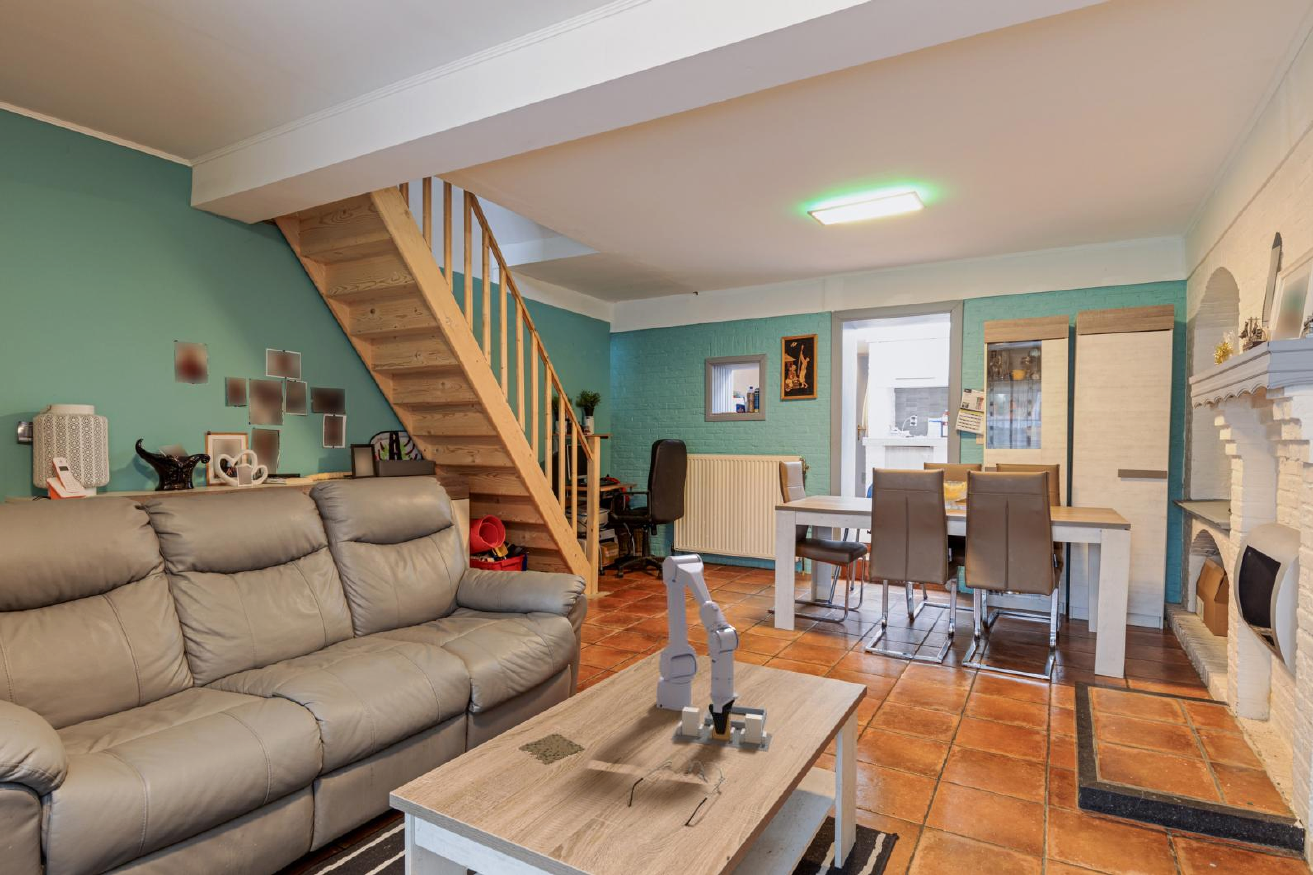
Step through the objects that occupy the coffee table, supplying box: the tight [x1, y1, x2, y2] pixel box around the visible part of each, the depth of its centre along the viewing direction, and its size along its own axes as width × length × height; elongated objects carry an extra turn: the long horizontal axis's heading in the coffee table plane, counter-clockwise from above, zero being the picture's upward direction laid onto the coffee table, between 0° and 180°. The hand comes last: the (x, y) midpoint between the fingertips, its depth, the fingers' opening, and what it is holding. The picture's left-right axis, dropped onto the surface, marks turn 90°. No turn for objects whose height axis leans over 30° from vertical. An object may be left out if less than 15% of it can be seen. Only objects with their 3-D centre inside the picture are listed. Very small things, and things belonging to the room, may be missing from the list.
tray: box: [704, 702, 767, 732], centre depth 185 cm, size 15×10×3 cm
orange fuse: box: [713, 712, 732, 740], centre depth 174 cm, size 4×3×6 cm, turn 76°
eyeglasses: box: [629, 753, 726, 826], centre depth 149 cm, size 16×19×5 cm
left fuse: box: [681, 706, 701, 736], centre depth 176 cm, size 4×3×6 cm, turn 76°
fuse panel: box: [670, 720, 773, 753], centre depth 174 cm, size 24×10×4 cm, turn 75°
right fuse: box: [744, 714, 763, 744], centre depth 172 cm, size 4×3×6 cm, turn 76°
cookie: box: [518, 733, 585, 766], centre depth 170 cm, size 12×12×1 cm
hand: (721, 729), depth 174 cm, fingers open, 4 cm apart
